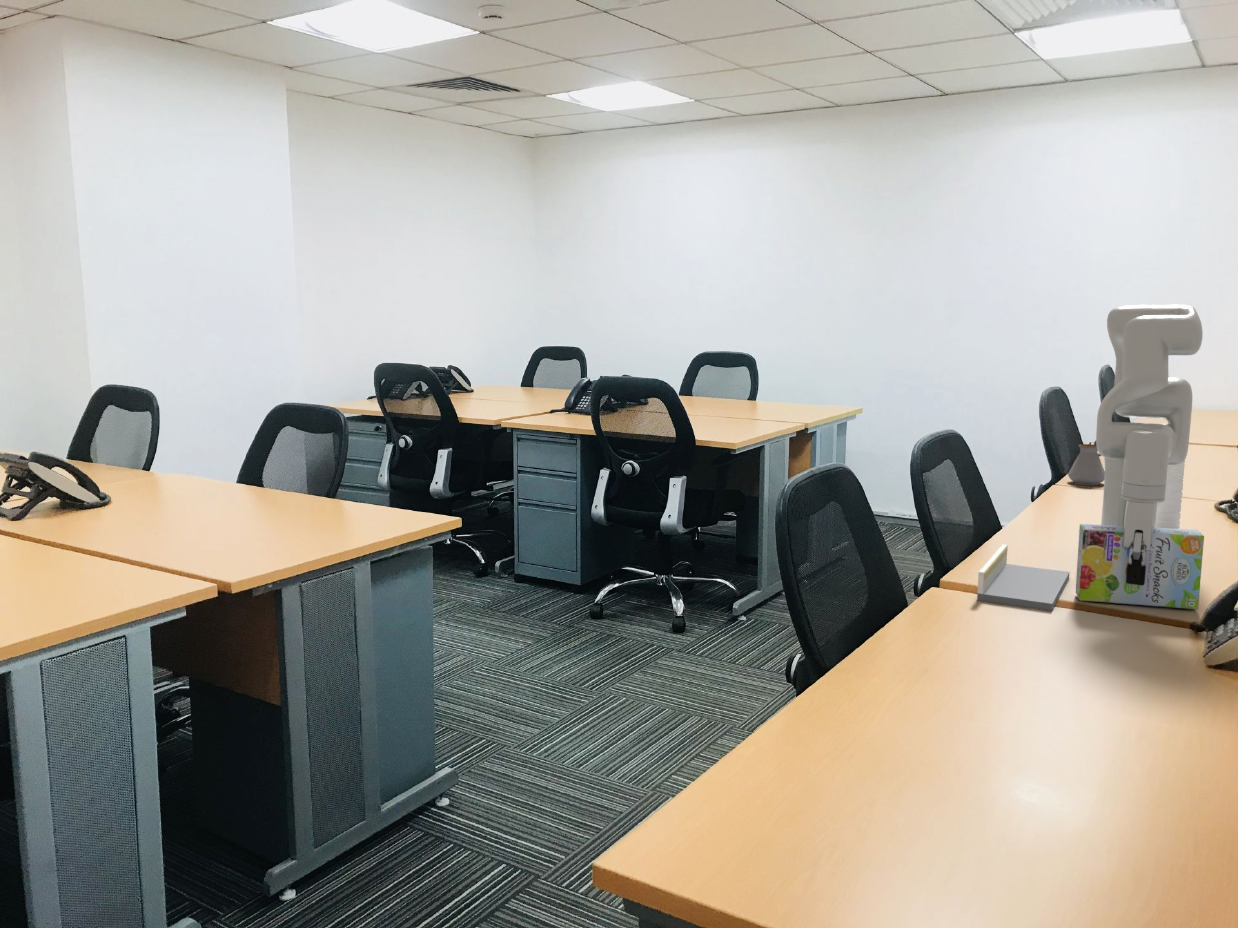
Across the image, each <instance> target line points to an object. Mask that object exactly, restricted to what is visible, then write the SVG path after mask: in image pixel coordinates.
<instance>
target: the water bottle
mask: <svg viewBox="0 0 1238 928" xmlns="http://www.w3.org/2000/svg"><path fill="white" fill-rule="evenodd" d="M1185 463H1186V459H1185V460H1184V461H1183V462H1182V463H1180V464H1177V465H1168V469H1167V481H1166V494H1165V501H1164V502H1159V503H1157V514H1156V523H1155V528H1170V529H1180V524H1181V522H1180V519H1181V512H1182V501H1183V500H1182V498H1183V489H1184V488H1183V487H1184V483H1183V482H1184V476H1185V466H1186V464H1185Z"/></svg>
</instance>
